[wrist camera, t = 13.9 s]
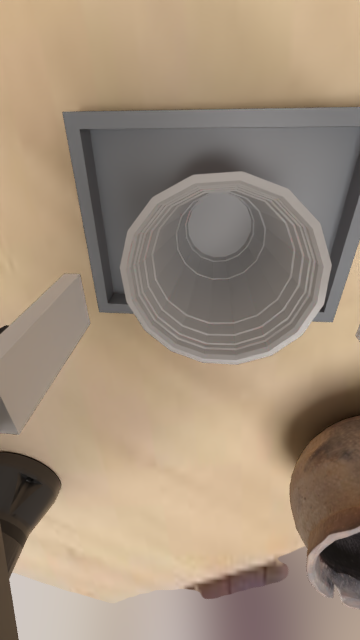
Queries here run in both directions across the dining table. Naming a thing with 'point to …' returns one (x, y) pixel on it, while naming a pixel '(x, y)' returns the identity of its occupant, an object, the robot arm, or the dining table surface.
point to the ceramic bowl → (330, 509)
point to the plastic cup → (225, 267)
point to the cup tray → (213, 157)
